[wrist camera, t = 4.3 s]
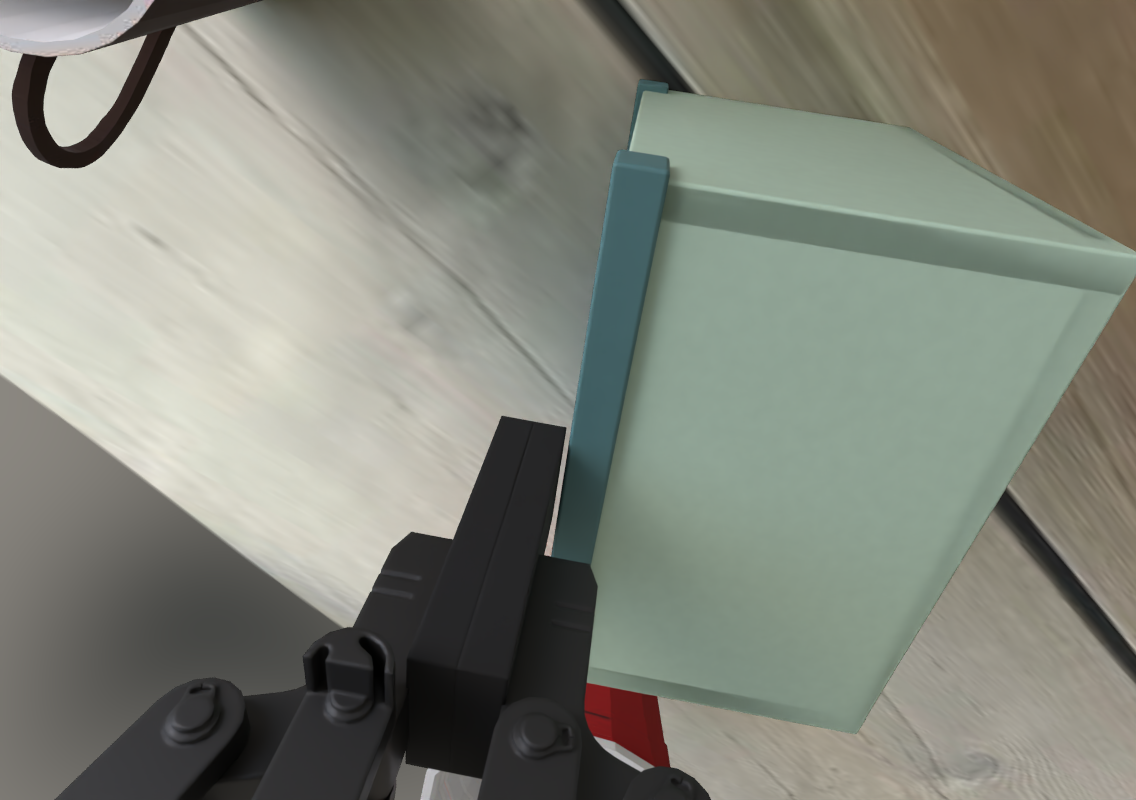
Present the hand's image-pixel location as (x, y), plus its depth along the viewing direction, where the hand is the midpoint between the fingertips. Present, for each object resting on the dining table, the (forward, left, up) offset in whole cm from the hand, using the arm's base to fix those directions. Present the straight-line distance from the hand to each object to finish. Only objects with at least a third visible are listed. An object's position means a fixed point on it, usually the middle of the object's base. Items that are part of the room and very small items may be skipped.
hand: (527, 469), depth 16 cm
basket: (0, +6, -13) cm, 14 cm away
